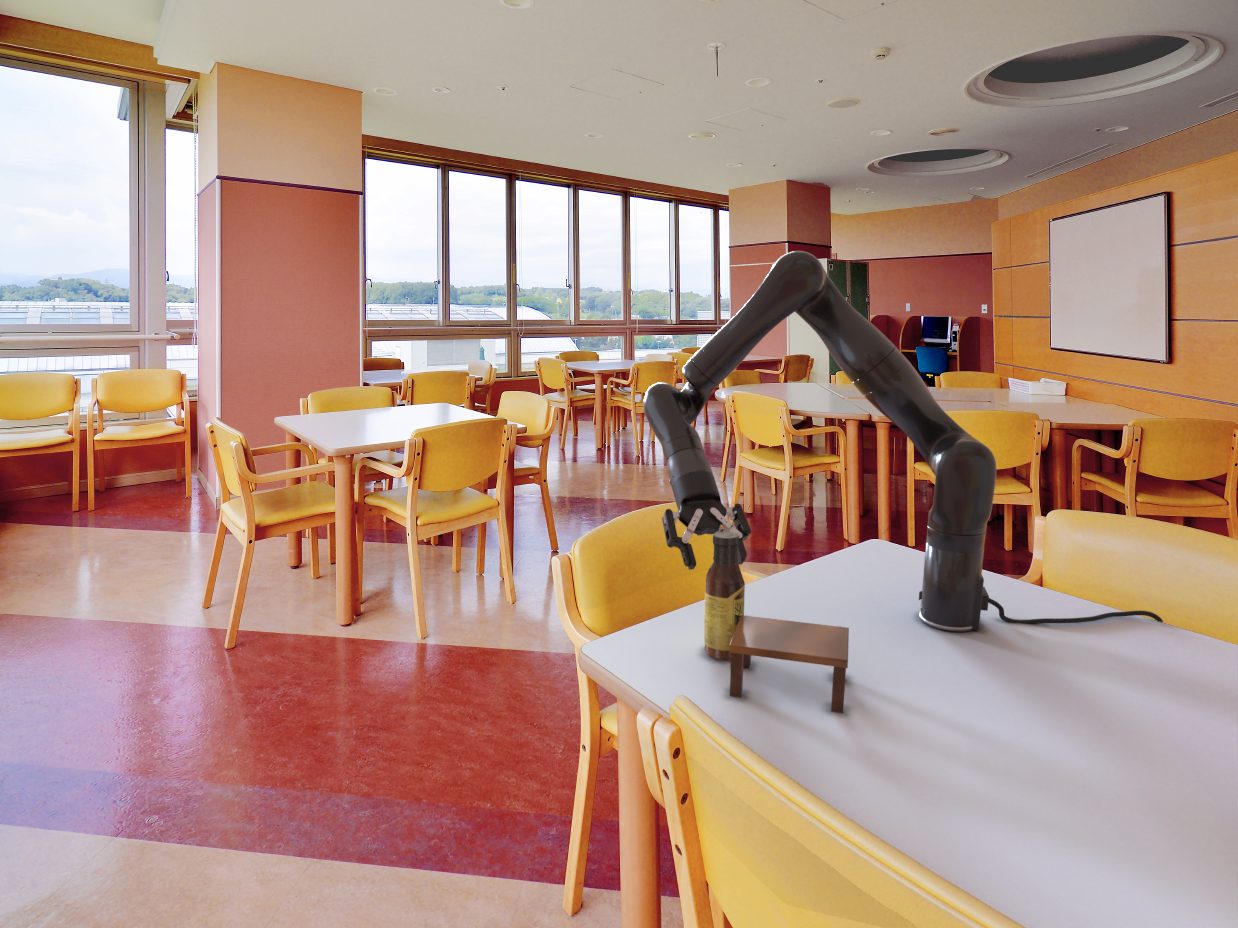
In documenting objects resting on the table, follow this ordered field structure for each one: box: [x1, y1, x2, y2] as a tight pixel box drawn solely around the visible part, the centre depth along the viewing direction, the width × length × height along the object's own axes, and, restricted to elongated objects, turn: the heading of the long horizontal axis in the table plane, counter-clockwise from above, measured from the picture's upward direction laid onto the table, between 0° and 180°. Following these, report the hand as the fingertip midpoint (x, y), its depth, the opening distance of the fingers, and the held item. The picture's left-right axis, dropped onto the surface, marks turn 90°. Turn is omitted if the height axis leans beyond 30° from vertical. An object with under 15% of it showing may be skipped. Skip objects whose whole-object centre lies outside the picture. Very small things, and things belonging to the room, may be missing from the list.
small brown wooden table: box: [729, 614, 850, 714], centre depth 107 cm, size 16×11×8 cm
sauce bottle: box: [703, 532, 746, 661], centre depth 116 cm, size 7×6×20 cm
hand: (717, 564), depth 118 cm, fingers open, 8 cm apart
